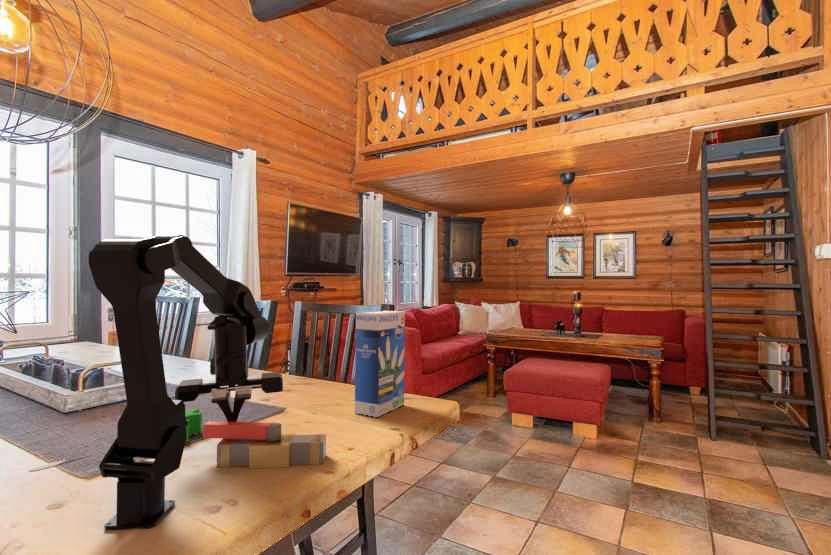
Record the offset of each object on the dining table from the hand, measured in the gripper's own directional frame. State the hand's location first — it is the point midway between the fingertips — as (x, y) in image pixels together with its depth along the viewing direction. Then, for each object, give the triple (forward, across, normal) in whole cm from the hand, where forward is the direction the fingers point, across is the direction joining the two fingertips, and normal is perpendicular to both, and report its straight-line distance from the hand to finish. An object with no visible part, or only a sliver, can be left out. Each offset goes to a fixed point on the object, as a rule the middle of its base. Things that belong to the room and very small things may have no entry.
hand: (232, 430), depth 83 cm
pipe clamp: (+5, +10, -13) cm, 17 cm away
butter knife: (+5, +22, -11) cm, 25 cm away
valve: (+5, -7, +6) cm, 10 cm away
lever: (0, -2, +4) cm, 4 cm away
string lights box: (+6, -34, -19) cm, 40 cm away
